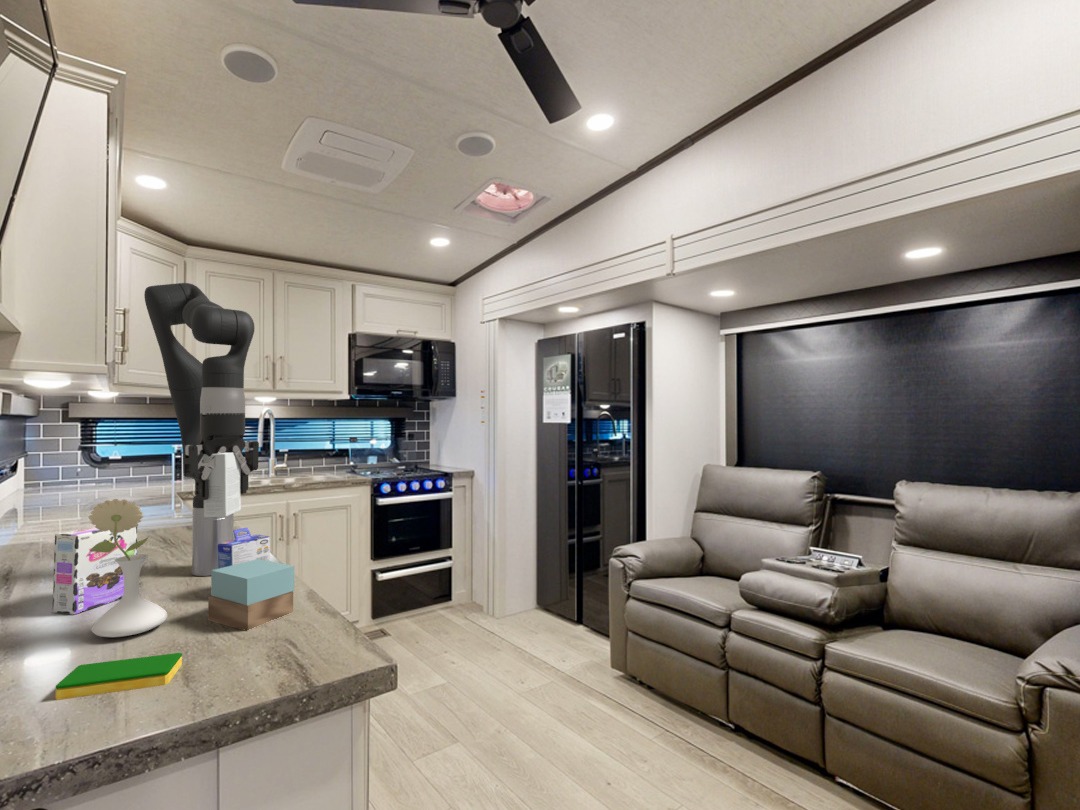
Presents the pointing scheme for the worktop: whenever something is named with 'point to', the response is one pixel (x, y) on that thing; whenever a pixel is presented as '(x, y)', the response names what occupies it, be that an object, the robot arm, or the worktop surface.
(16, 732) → the worktop surface
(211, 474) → the skincare box
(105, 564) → the candy box
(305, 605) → the worktop surface
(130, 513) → the flower in vase
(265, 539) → the ink cartridge box
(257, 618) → the tower base block
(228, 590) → the tower top block
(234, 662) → the worktop surface
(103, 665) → the dish sponge
